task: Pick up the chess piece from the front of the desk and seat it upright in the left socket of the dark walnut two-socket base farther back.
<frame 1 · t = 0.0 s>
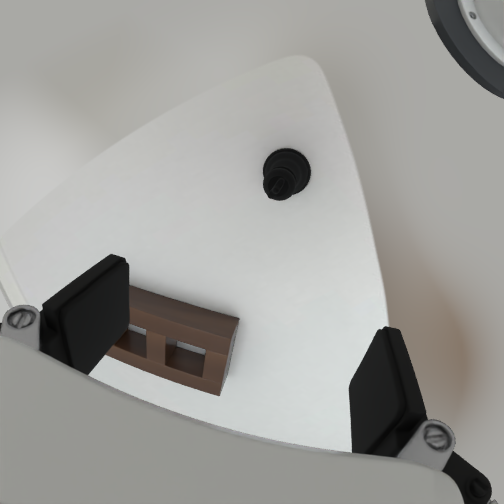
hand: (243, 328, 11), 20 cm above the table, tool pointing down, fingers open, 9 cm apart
socket base: (168, 329, 38), on the table
chess piece: (287, 171, 28), on the table
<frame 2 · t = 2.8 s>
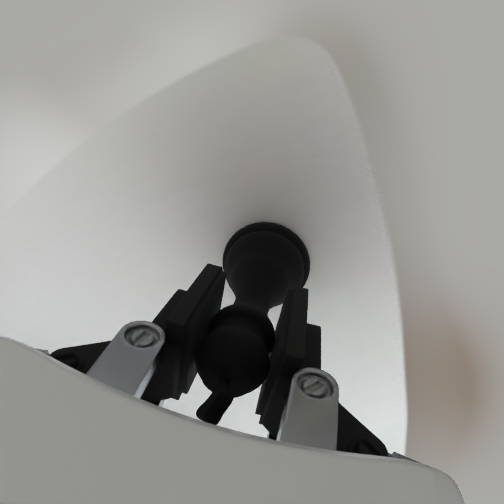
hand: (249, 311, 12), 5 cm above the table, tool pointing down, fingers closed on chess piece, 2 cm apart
chess piece: (266, 261, 16), on the table, touching gripper
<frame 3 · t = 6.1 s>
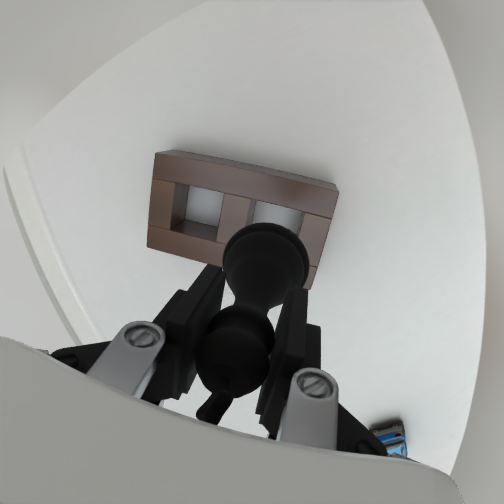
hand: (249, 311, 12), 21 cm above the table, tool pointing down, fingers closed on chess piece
toy car: (388, 436, 42), on the table
socket base: (242, 210, 32), on the table
chess piece: (266, 262, 16), point 16 cm above the table, touching gripper
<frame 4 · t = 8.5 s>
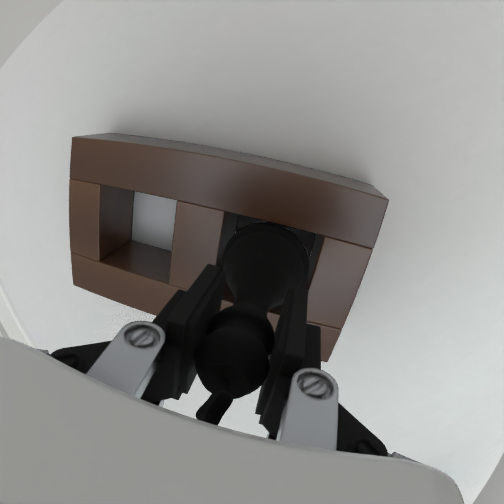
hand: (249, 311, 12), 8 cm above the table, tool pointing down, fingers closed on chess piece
socket base: (216, 227, 19), on the table
chess piece: (266, 262, 16), point 3 cm above the table, touching gripper
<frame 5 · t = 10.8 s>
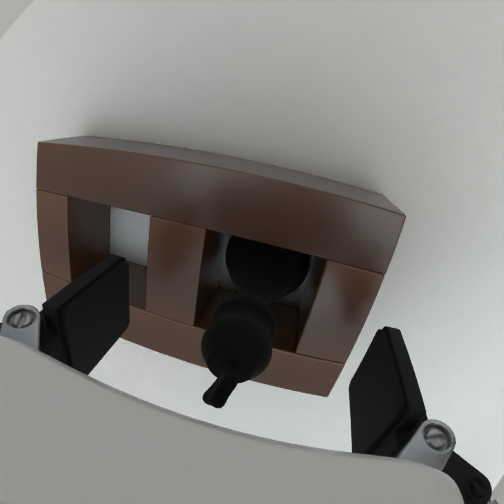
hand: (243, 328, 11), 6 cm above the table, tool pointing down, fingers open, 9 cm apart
socket base: (201, 243, 17), on the table
chess piece: (268, 257, 17), resting in socket base
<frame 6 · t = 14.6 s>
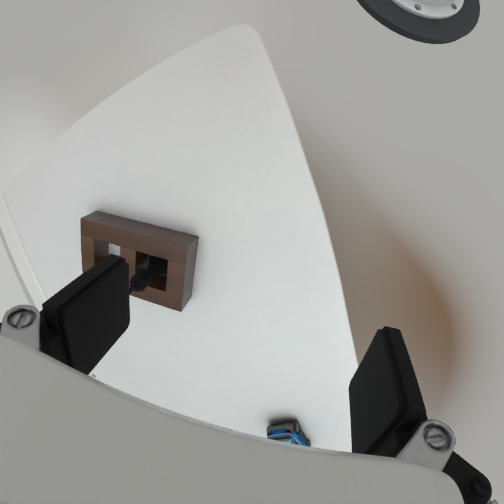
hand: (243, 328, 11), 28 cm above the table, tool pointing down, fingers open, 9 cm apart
toy car: (290, 432, 53), on the table
socket base: (141, 253, 44), on the table
chess piece: (163, 259, 44), resting in socket base
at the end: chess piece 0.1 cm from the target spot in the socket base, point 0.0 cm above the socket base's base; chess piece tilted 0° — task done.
